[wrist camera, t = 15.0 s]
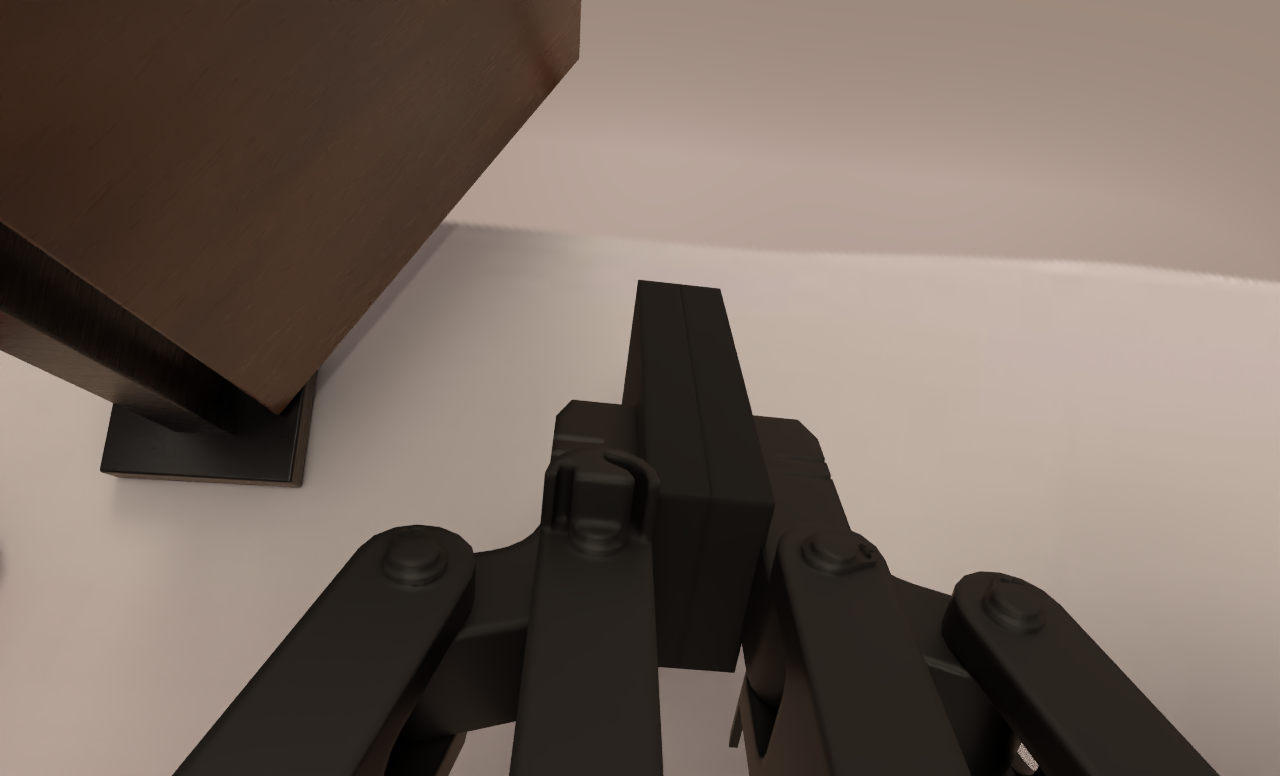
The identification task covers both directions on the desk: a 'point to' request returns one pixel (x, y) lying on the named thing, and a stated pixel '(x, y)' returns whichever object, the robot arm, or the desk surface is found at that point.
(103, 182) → the door
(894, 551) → the desk surface
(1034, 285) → the desk surface
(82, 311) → the black post stand
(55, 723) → the desk surface
